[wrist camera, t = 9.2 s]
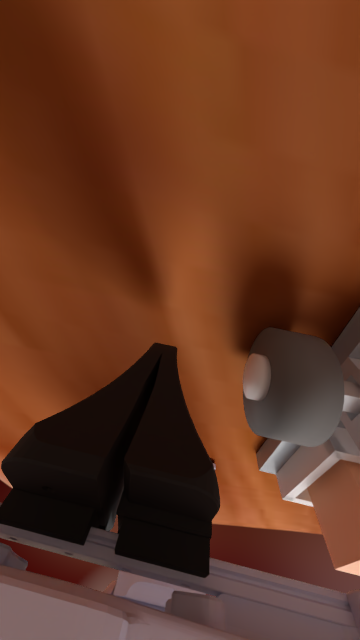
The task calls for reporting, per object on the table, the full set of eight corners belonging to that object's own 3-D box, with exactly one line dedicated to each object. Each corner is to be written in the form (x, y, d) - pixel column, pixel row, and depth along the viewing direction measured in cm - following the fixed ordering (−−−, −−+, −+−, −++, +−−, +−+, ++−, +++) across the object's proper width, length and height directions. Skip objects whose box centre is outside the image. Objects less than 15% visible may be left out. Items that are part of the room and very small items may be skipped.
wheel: (309, 391, 15) (359, 484, 10) (231, 374, 16) (241, 456, 10) (357, 327, 12) (462, 414, 7) (258, 307, 13) (290, 377, 7)
